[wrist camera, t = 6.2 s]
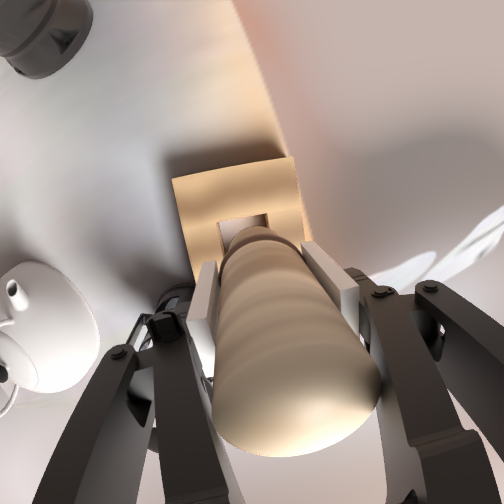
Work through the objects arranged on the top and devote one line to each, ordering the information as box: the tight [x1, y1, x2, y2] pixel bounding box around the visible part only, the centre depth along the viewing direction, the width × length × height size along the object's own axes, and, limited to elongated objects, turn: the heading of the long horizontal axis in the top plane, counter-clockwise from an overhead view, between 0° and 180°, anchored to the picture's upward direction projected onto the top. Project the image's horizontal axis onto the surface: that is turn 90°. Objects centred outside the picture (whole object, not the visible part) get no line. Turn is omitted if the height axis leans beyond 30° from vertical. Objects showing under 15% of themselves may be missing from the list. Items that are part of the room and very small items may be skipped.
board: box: [172, 157, 305, 284], centre depth 36 cm, size 18×14×4 cm
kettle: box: [0, 261, 100, 417], centre depth 29 cm, size 25×23×23 cm
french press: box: [126, 284, 213, 453], centre depth 29 cm, size 12×9×23 cm
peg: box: [211, 226, 382, 457], centre depth 13 cm, size 5×5×14 cm
